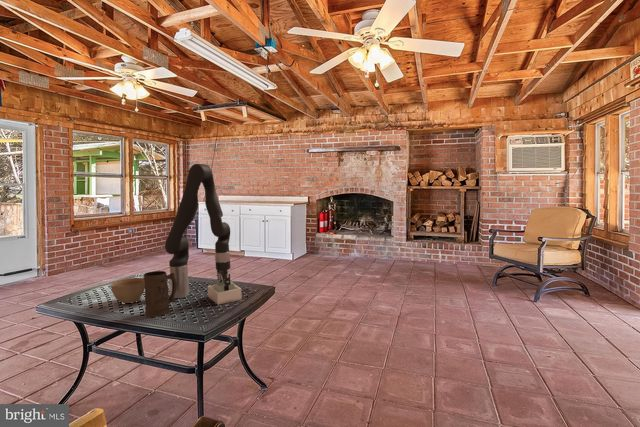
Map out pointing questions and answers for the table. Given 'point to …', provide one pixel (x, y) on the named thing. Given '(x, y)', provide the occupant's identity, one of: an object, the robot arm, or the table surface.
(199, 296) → the table surface
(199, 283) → the table surface
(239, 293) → the big crate
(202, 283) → the table surface
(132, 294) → the planter bowl
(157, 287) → the beer stein
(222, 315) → the table surface
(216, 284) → the small crate
